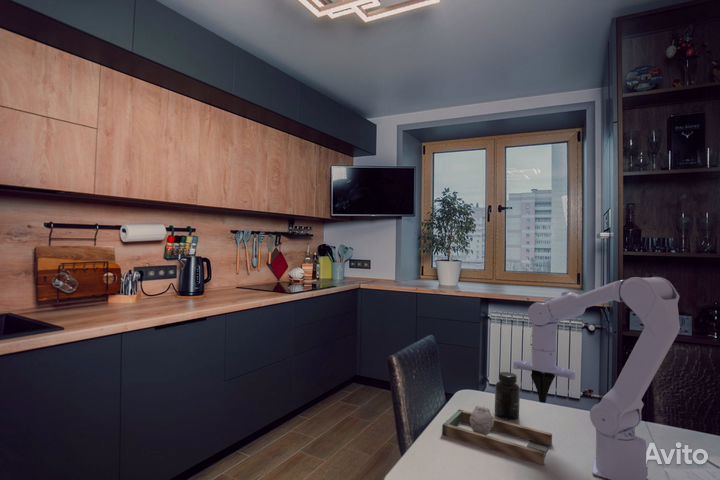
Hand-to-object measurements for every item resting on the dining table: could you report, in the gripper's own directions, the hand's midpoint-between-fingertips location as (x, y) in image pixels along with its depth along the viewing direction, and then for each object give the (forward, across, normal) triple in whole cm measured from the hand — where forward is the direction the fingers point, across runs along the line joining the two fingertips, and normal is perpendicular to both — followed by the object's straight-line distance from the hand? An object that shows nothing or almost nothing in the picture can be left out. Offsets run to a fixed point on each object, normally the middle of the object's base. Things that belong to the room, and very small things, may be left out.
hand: (542, 401), depth 103 cm
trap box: (+9, +9, +8) cm, 15 cm away
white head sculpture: (+10, +13, +8) cm, 18 cm away
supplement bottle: (+10, +11, -9) cm, 17 cm away
